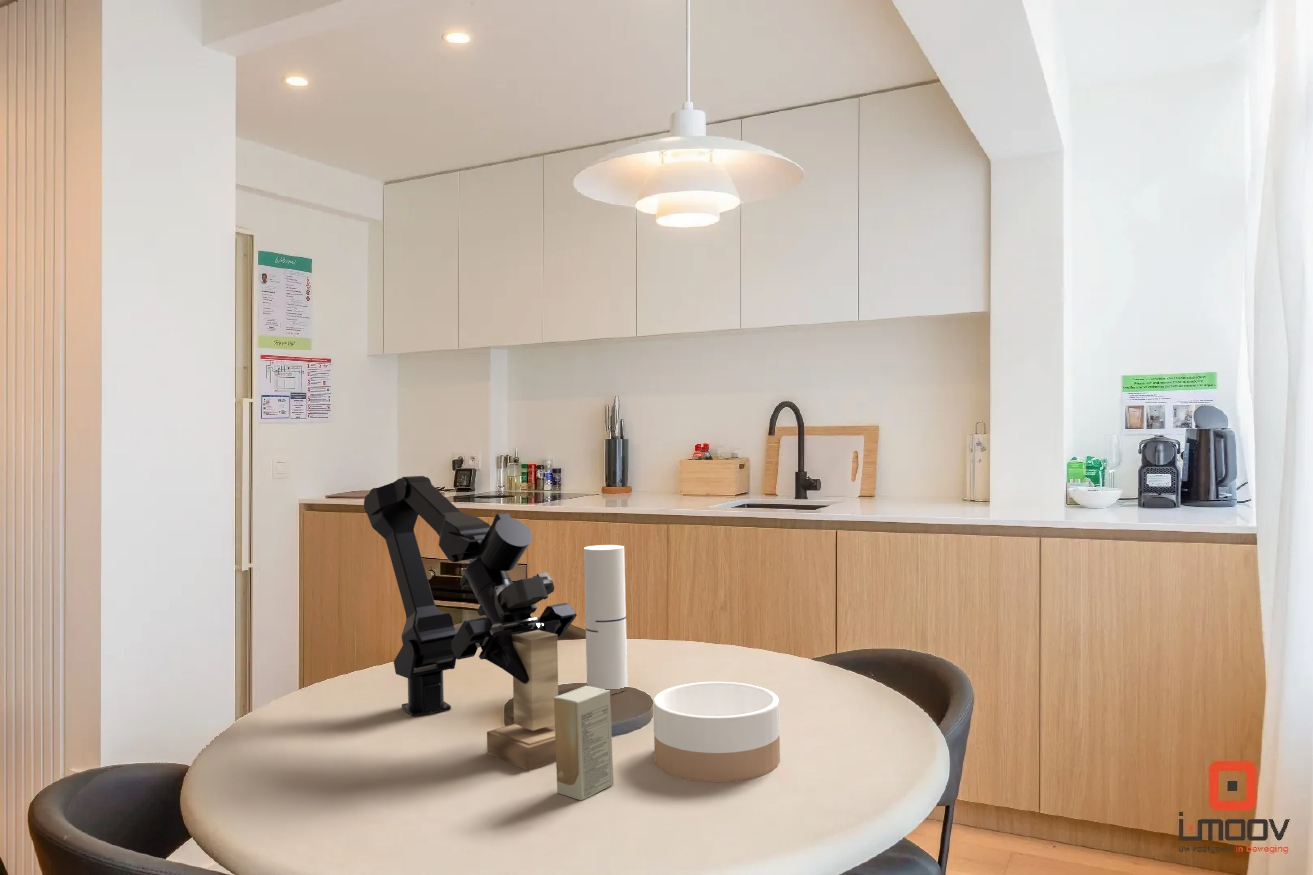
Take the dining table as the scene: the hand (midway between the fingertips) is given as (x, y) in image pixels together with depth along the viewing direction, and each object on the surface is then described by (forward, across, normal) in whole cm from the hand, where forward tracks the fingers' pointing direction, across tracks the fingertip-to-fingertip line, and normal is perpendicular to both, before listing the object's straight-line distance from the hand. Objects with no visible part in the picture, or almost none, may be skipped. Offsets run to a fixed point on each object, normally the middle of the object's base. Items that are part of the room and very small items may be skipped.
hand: (541, 678), depth 125 cm
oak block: (+4, 0, +6) cm, 7 cm away
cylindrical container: (-5, +28, +21) cm, 35 cm away
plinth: (+7, 0, +8) cm, 11 cm away
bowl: (+21, +15, -6) cm, 27 cm away
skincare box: (+18, -4, -2) cm, 18 cm away
